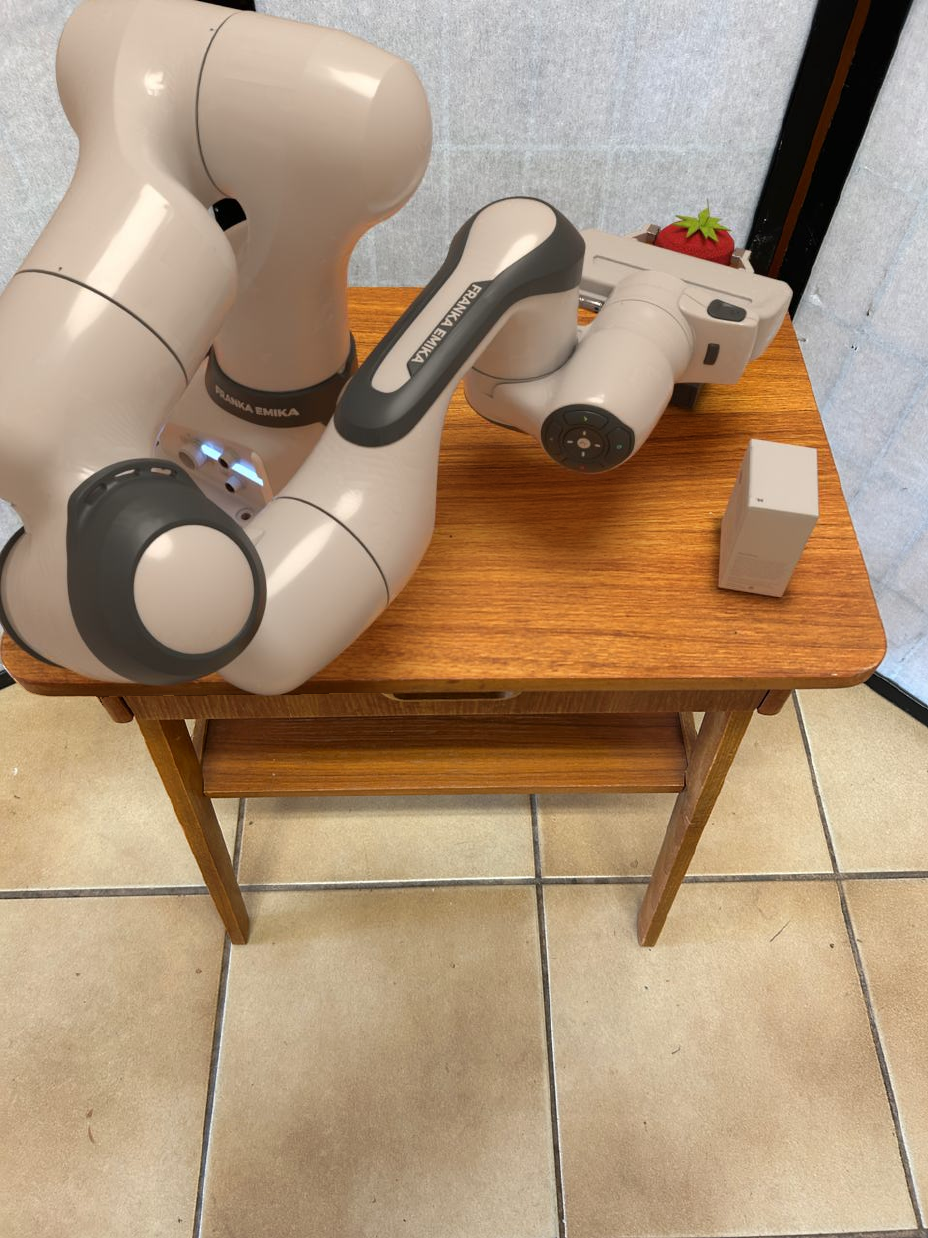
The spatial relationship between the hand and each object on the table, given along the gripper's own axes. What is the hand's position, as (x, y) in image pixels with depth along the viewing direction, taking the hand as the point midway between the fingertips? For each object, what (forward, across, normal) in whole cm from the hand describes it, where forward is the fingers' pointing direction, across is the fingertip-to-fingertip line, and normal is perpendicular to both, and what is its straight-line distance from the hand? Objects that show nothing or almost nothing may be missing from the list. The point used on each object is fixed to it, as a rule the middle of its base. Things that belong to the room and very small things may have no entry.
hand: (697, 243), depth 89 cm
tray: (-1, 0, -14) cm, 14 cm away
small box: (-23, +15, -14) cm, 31 cm away
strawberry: (-1, 0, -6) cm, 6 cm away
